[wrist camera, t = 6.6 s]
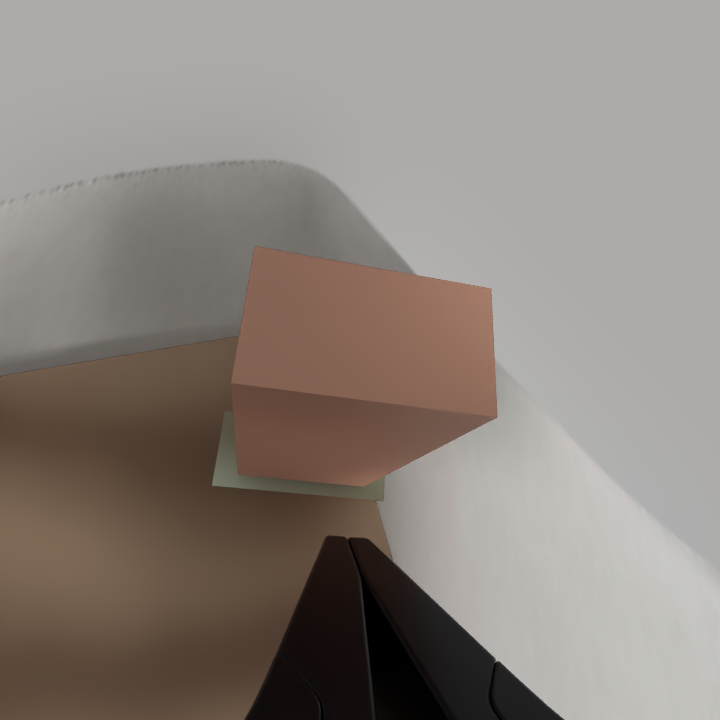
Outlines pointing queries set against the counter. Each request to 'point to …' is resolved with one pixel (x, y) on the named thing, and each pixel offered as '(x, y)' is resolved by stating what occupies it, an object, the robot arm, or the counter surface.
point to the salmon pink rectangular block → (355, 368)
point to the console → (148, 541)
